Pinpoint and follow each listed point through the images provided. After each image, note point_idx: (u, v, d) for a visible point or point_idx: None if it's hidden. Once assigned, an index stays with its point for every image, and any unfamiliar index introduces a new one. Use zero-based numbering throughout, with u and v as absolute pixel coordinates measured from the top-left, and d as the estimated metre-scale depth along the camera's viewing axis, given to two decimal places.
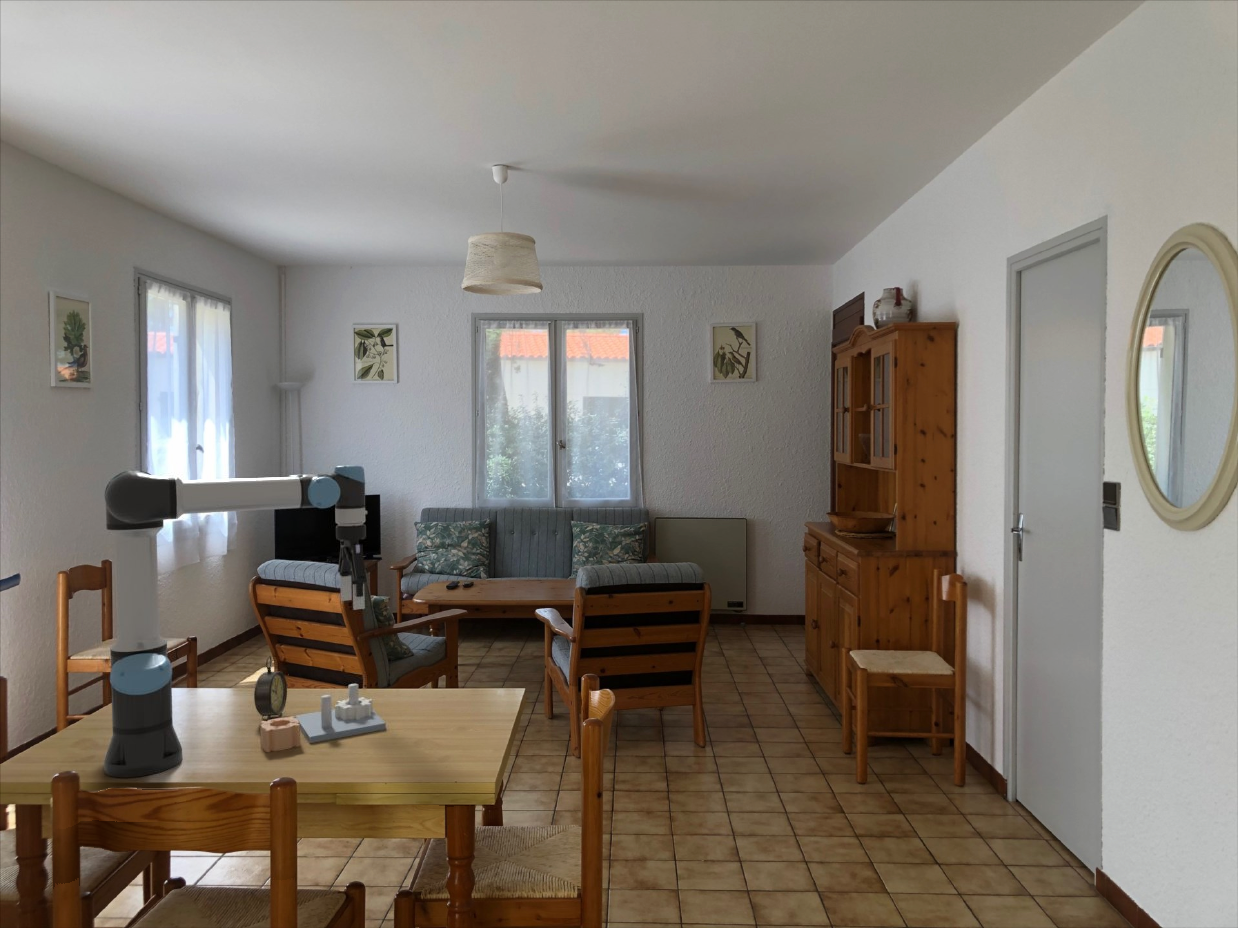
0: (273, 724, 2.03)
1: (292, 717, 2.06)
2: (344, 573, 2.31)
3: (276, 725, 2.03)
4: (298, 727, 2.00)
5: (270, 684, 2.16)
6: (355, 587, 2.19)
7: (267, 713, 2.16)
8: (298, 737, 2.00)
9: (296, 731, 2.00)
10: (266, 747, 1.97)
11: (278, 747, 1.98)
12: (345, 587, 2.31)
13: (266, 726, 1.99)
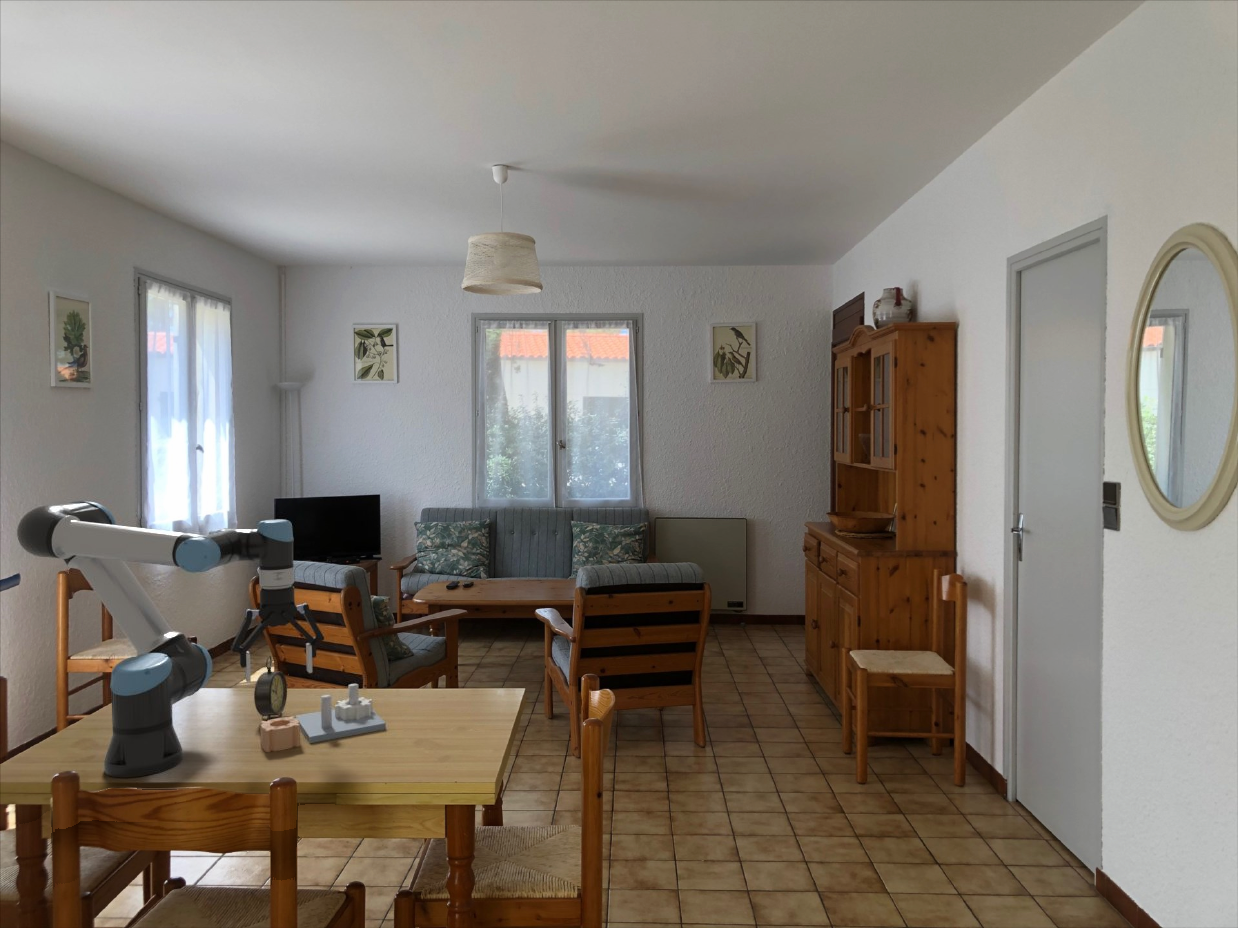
0: (273, 724, 2.03)
1: (292, 717, 2.06)
2: None
3: (276, 725, 2.03)
4: (298, 727, 2.00)
5: (270, 684, 2.16)
6: None
7: (267, 713, 2.16)
8: (298, 737, 2.00)
9: (296, 731, 2.00)
10: (266, 747, 1.97)
11: (278, 747, 1.98)
12: (307, 656, 2.05)
13: (266, 726, 1.99)
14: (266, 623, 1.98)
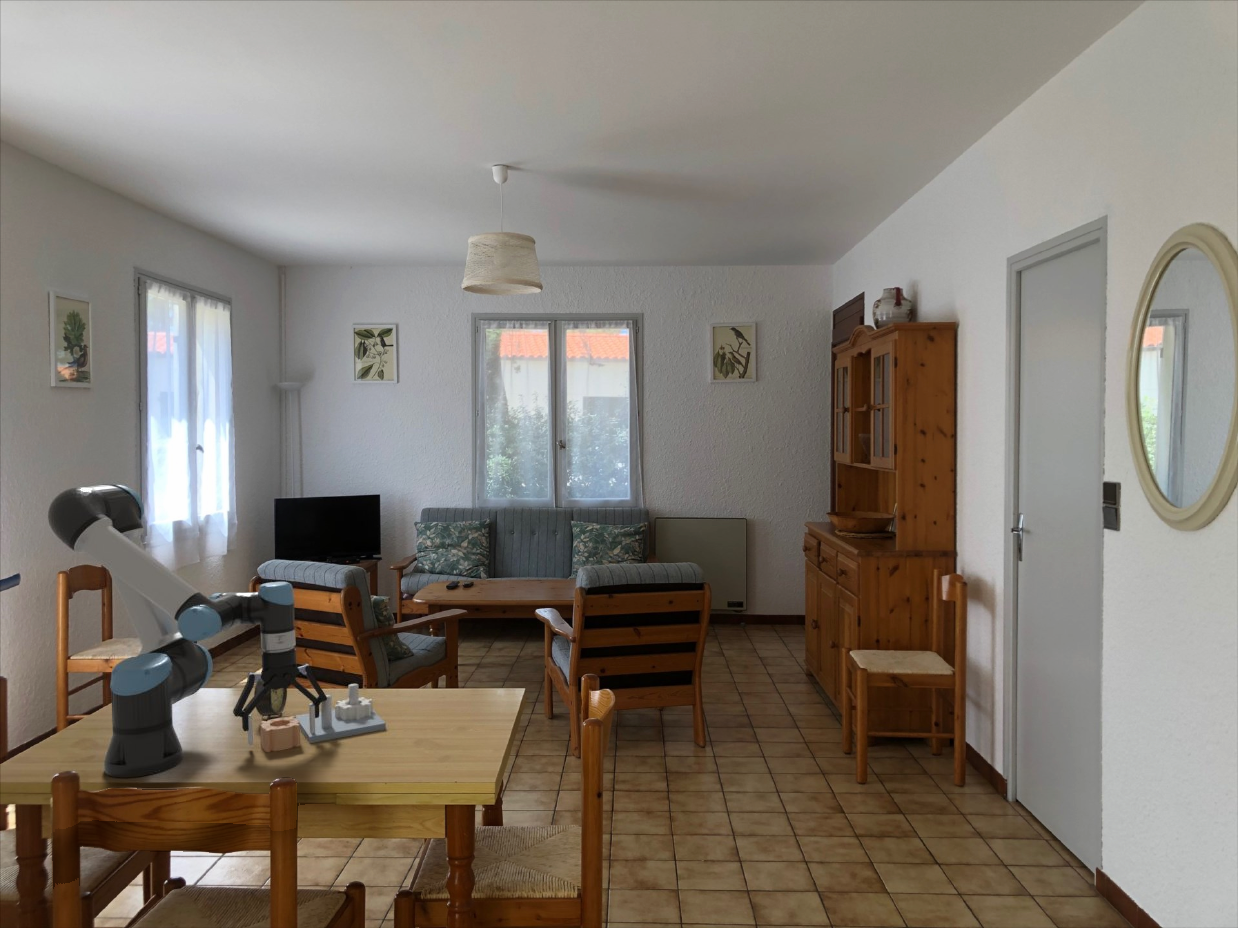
0: (273, 724, 2.03)
1: (292, 717, 2.06)
2: None
3: (276, 725, 2.03)
4: (298, 727, 2.00)
5: None
6: None
7: (267, 713, 2.16)
8: (298, 737, 2.00)
9: (296, 731, 2.00)
10: (266, 747, 1.97)
11: (278, 747, 1.98)
12: (310, 717, 2.05)
13: (266, 726, 1.99)
14: (268, 686, 1.98)
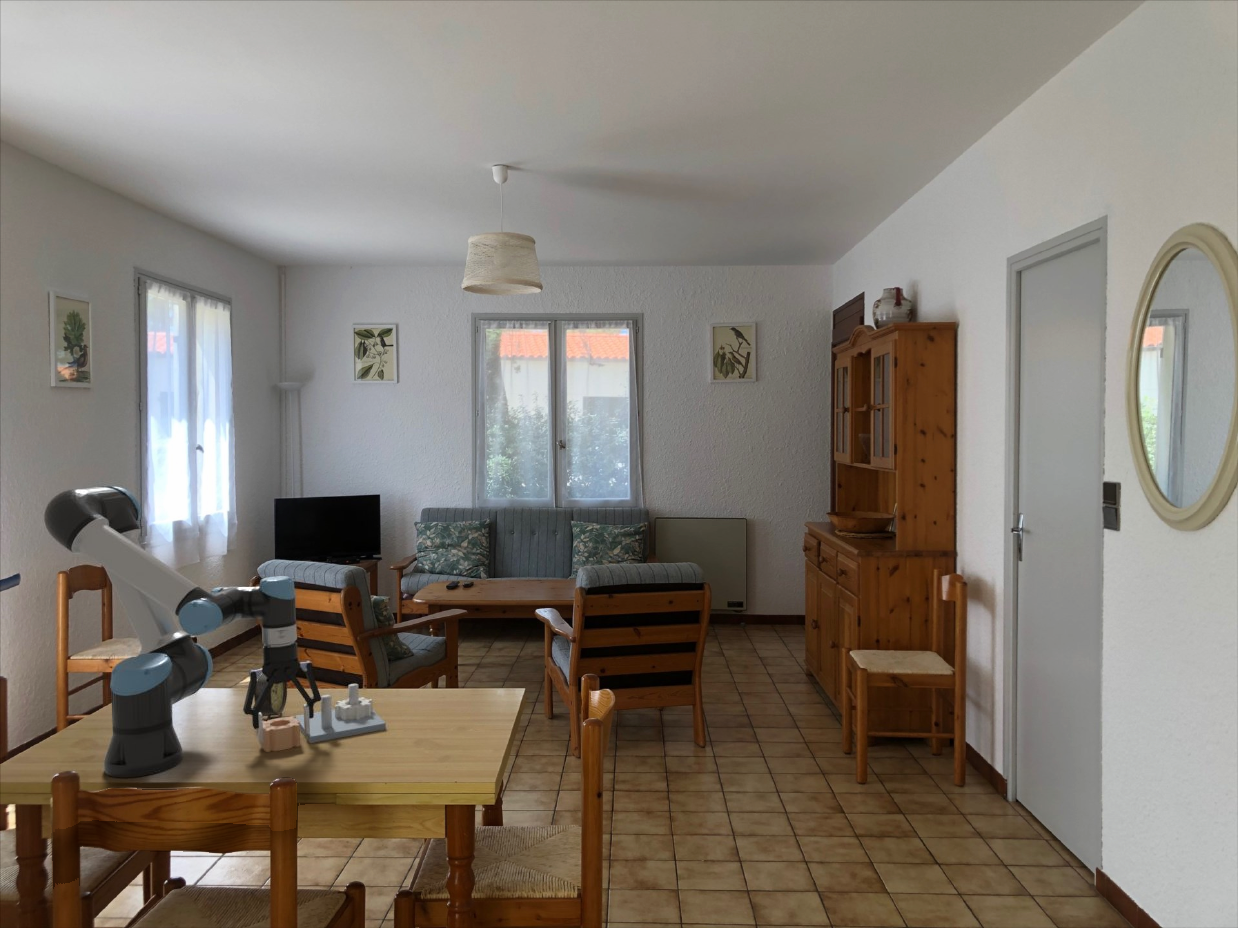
0: (273, 724, 2.03)
1: (292, 717, 2.06)
2: None
3: (276, 725, 2.03)
4: (298, 727, 2.00)
5: None
6: None
7: (267, 713, 2.16)
8: (298, 737, 2.00)
9: (296, 731, 2.00)
10: (266, 747, 1.97)
11: (278, 747, 1.98)
12: (304, 717, 2.04)
13: (266, 726, 1.99)
14: (272, 681, 1.99)
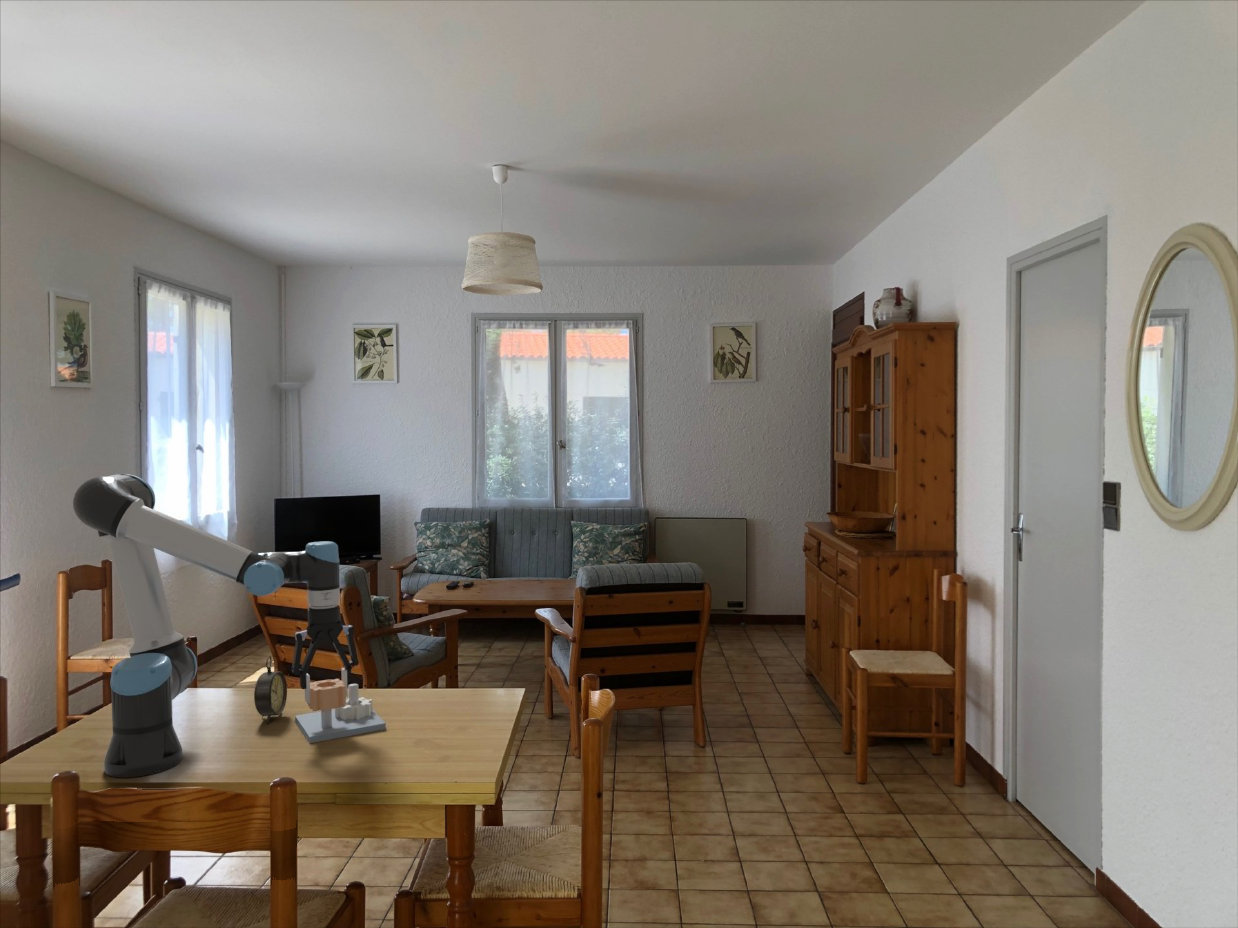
0: (319, 685, 2.10)
1: (337, 679, 2.13)
2: (345, 665, 2.11)
3: (322, 686, 2.10)
4: (344, 688, 2.07)
5: (270, 684, 2.16)
6: None
7: (267, 713, 2.16)
8: (344, 698, 2.07)
9: (342, 692, 2.07)
10: (314, 706, 2.04)
11: (325, 707, 2.05)
12: (342, 681, 2.11)
13: (313, 687, 2.06)
14: (316, 643, 2.06)
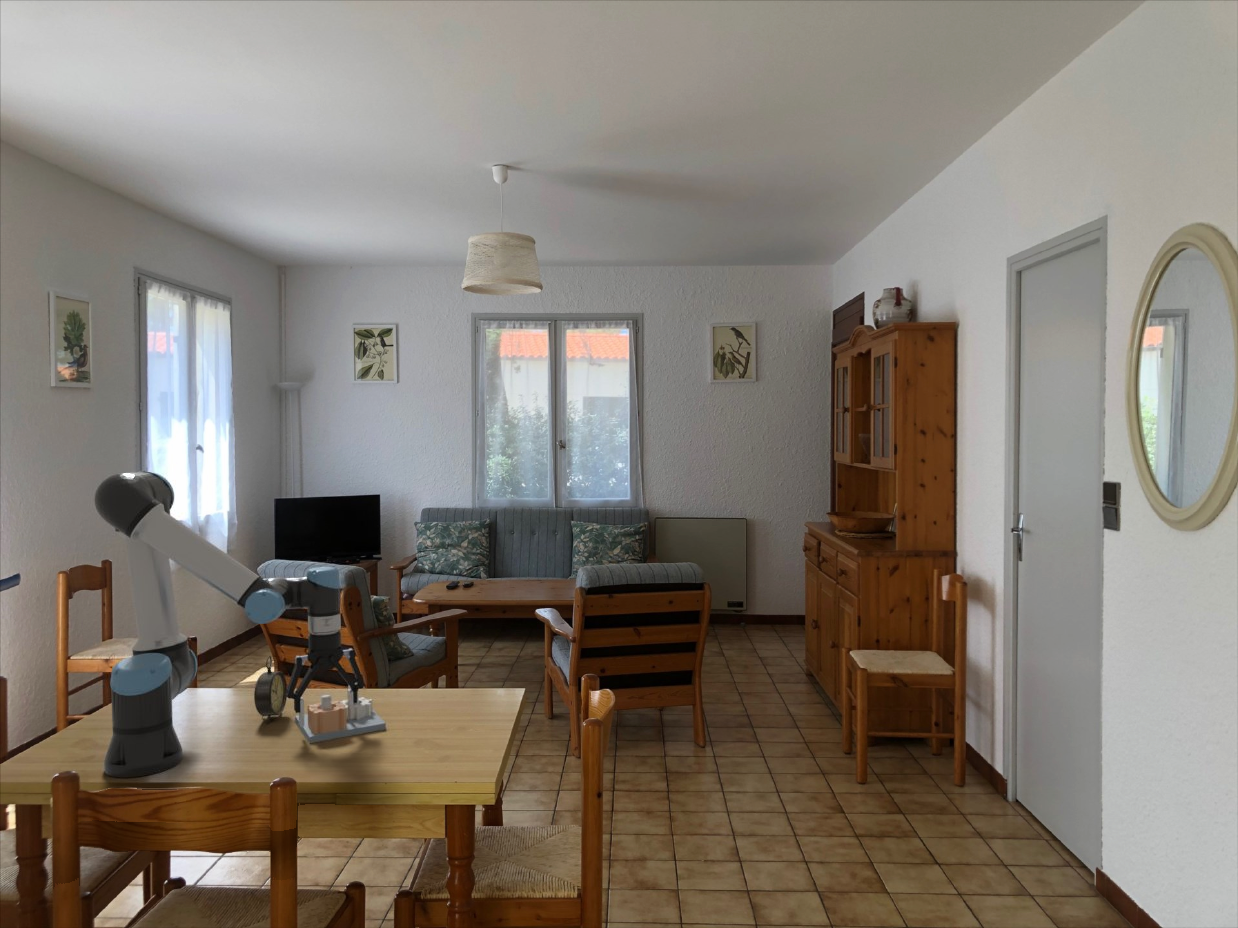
0: (320, 707, 2.10)
1: (337, 701, 2.13)
2: None
3: None
4: (344, 710, 2.08)
5: (270, 684, 2.16)
6: None
7: (267, 713, 2.16)
8: (344, 720, 2.08)
9: (343, 714, 2.07)
10: (314, 729, 2.04)
11: (325, 729, 2.05)
12: (348, 702, 2.12)
13: (314, 709, 2.07)
14: (316, 668, 2.06)
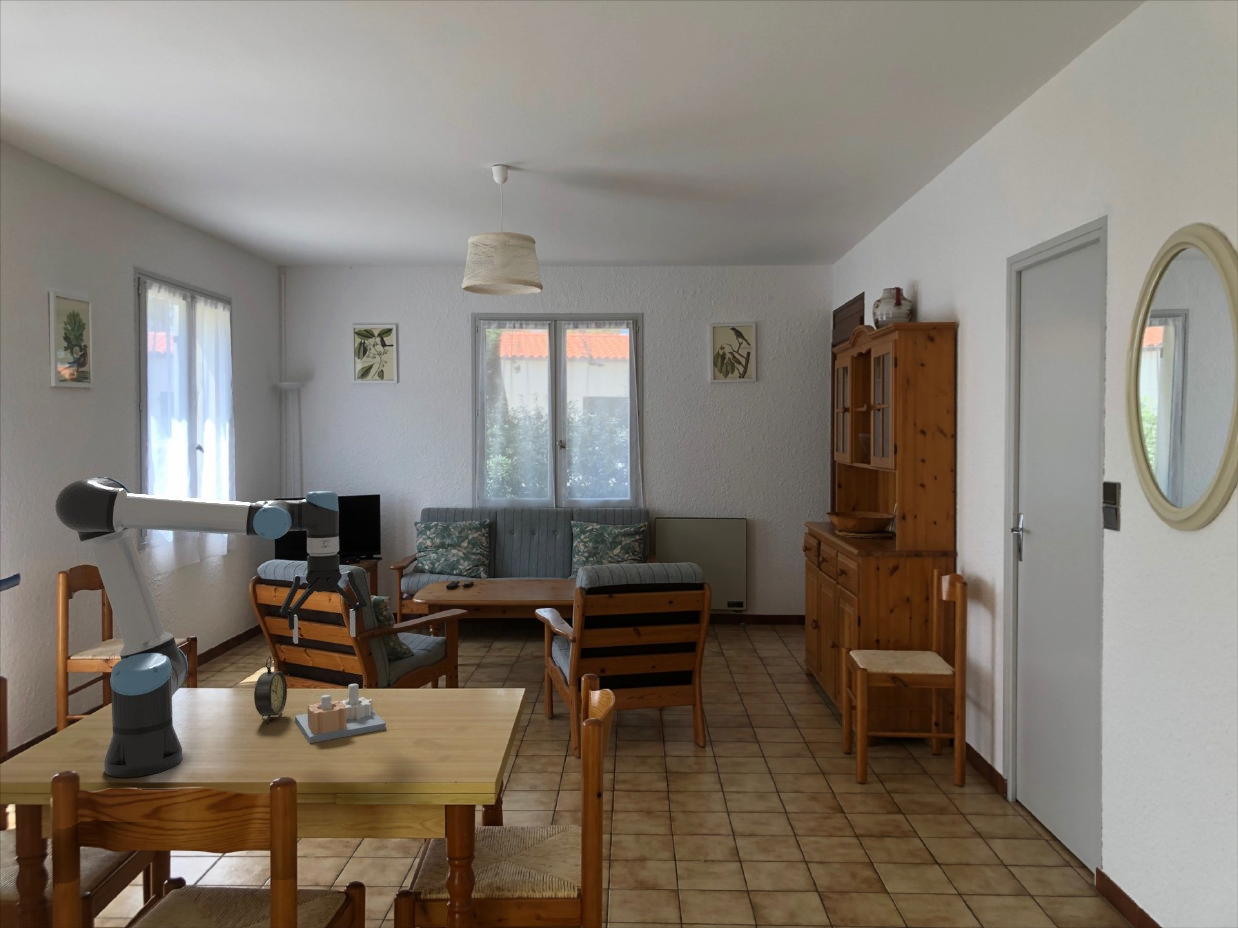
0: (320, 707, 2.10)
1: (337, 701, 2.13)
2: None
3: None
4: (344, 710, 2.08)
5: (270, 684, 2.16)
6: None
7: (267, 713, 2.16)
8: (344, 720, 2.08)
9: (343, 714, 2.07)
10: (314, 729, 2.04)
11: (325, 729, 2.05)
12: (350, 621, 2.16)
13: (314, 709, 2.07)
14: (313, 588, 2.09)
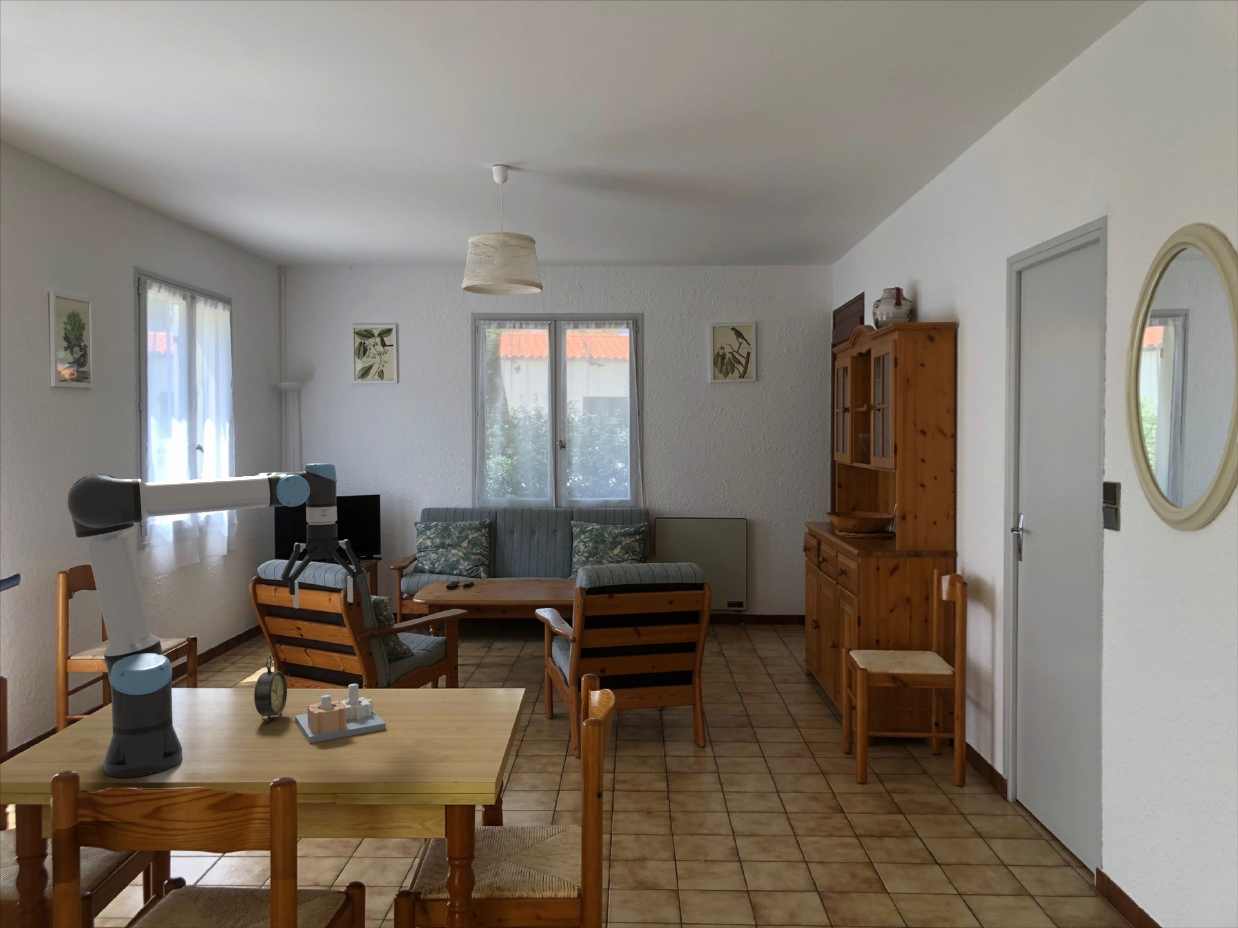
0: (320, 707, 2.10)
1: (337, 701, 2.13)
2: (351, 573, 2.26)
3: None
4: (344, 710, 2.08)
5: (270, 684, 2.16)
6: None
7: (267, 713, 2.16)
8: (344, 720, 2.08)
9: (343, 714, 2.07)
10: (314, 729, 2.04)
11: (325, 729, 2.05)
12: (348, 588, 2.26)
13: (314, 709, 2.07)
14: (312, 555, 2.19)
